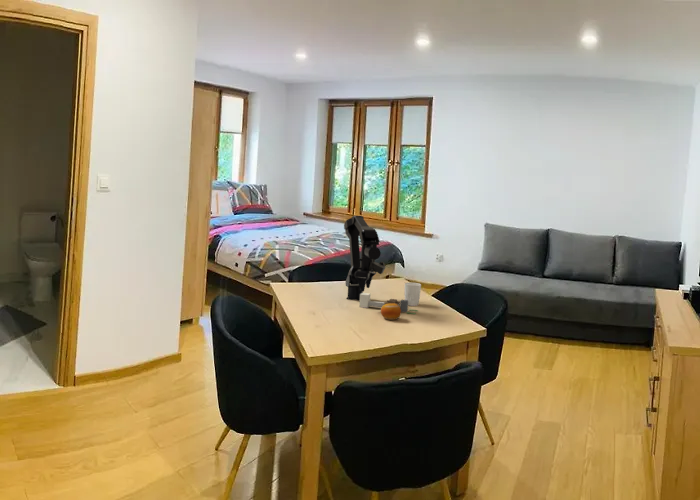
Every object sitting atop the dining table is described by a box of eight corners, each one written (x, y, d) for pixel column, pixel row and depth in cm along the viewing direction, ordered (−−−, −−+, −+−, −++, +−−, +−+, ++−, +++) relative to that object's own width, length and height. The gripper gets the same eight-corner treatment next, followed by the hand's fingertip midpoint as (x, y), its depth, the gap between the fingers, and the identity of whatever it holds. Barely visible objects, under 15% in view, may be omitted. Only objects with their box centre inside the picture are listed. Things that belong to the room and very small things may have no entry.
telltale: (399, 311, 281) (400, 300, 280) (401, 310, 284) (401, 299, 283) (406, 312, 280) (406, 301, 279) (407, 310, 283) (408, 300, 282)
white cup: (419, 306, 292) (420, 286, 291) (402, 305, 294) (403, 284, 292) (420, 303, 300) (421, 283, 299) (404, 302, 301) (405, 281, 300)
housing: (383, 310, 281) (384, 301, 280) (387, 307, 287) (387, 298, 287) (415, 314, 277) (415, 304, 276) (418, 311, 283) (418, 301, 283)
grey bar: (359, 307, 286) (359, 294, 285) (361, 305, 289) (362, 292, 289) (397, 311, 281) (398, 298, 280) (399, 309, 284) (400, 296, 284)
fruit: (387, 307, 273) (389, 294, 267) (403, 316, 269) (405, 304, 264) (376, 318, 268) (378, 305, 262) (392, 328, 264) (394, 315, 259)
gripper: (379, 260, 273) (377, 295, 275) (388, 255, 290) (387, 287, 293) (355, 258, 276) (353, 292, 278) (366, 253, 294) (364, 285, 296)
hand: (365, 289), depth 286 cm, fingers open, 9 cm apart
